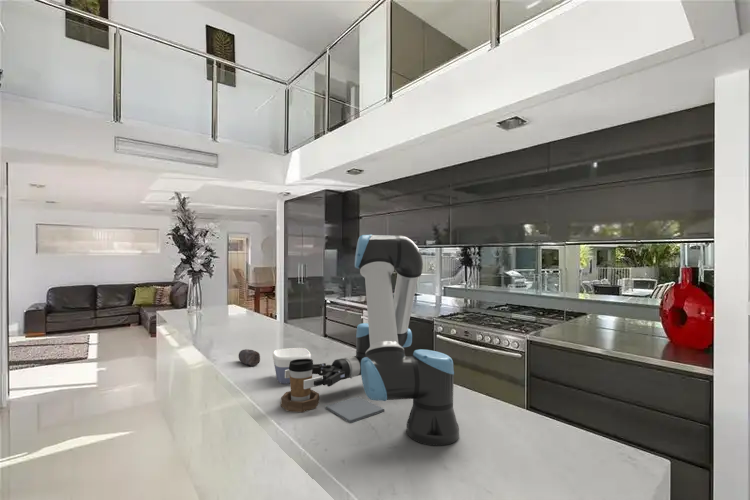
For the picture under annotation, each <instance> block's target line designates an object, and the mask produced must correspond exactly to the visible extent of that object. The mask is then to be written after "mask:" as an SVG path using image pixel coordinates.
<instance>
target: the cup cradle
mask: <svg viewBox="0 0 750 500" xmlns="http://www.w3.org/2000/svg"><path fill="white" fill-rule="evenodd" d="M319 404H320V393H318V391H315V390H313V389H311V391H310V400H306V401H303V402H302V401H291V390H289V391H286V392H284V394H283V395H282V396H281V398H280V407H281V408H282V409H284V410H285V411H287V412H296V413H304V412H308V411H310V410H314V409H317V407H318V405H319Z"/></svg>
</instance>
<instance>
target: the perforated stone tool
mask: <svg viewBox="0 0 750 500" xmlns="http://www.w3.org/2000/svg"><path fill="white" fill-rule="evenodd" d="M238 360H239V361H240V363H243V365H246V366H251V367H253V366H258V365H259V364H260V362H261V354H260V353H259V352H258V351H256V350H253V349H247V348H246V349H242V350H240V351H239V352H238Z"/></svg>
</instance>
